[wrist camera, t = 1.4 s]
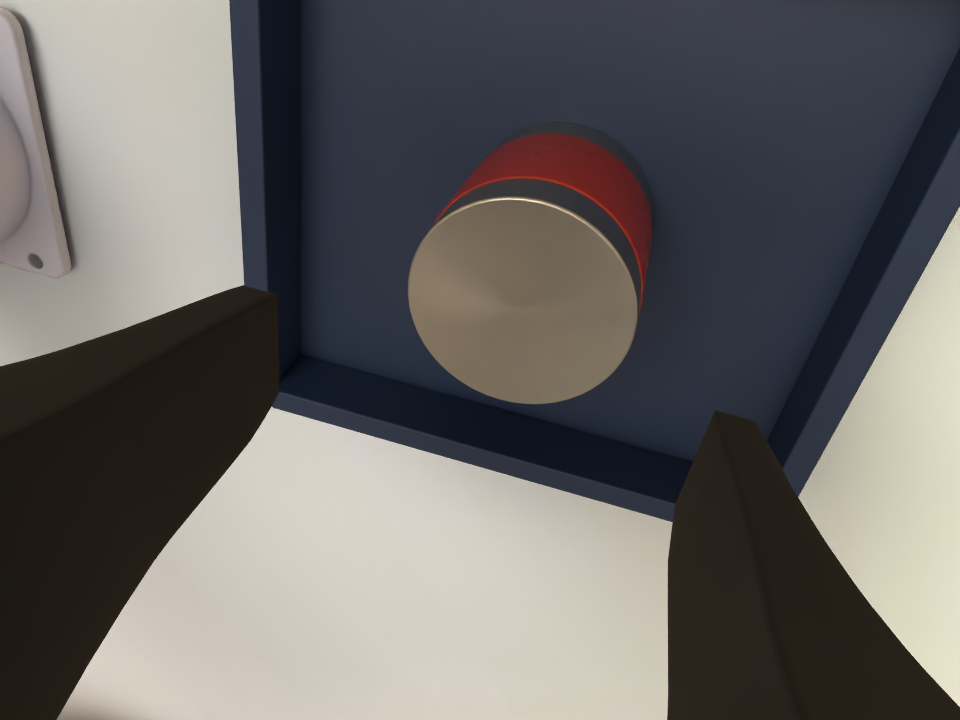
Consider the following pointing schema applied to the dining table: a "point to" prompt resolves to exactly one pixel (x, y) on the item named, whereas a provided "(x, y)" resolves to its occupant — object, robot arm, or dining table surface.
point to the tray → (675, 195)
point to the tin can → (537, 266)
